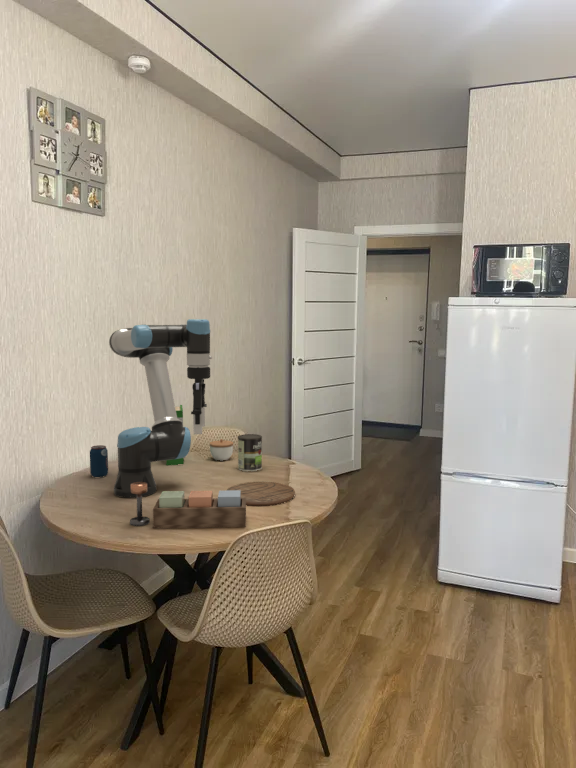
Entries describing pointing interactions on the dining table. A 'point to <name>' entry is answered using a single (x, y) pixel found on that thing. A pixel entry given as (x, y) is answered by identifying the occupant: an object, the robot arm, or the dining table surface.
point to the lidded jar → (221, 449)
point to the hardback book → (180, 416)
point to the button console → (200, 516)
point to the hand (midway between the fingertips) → (199, 430)
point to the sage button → (171, 499)
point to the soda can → (98, 461)
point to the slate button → (229, 498)
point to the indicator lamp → (139, 504)
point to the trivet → (264, 493)
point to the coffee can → (249, 452)
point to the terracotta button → (201, 499)
